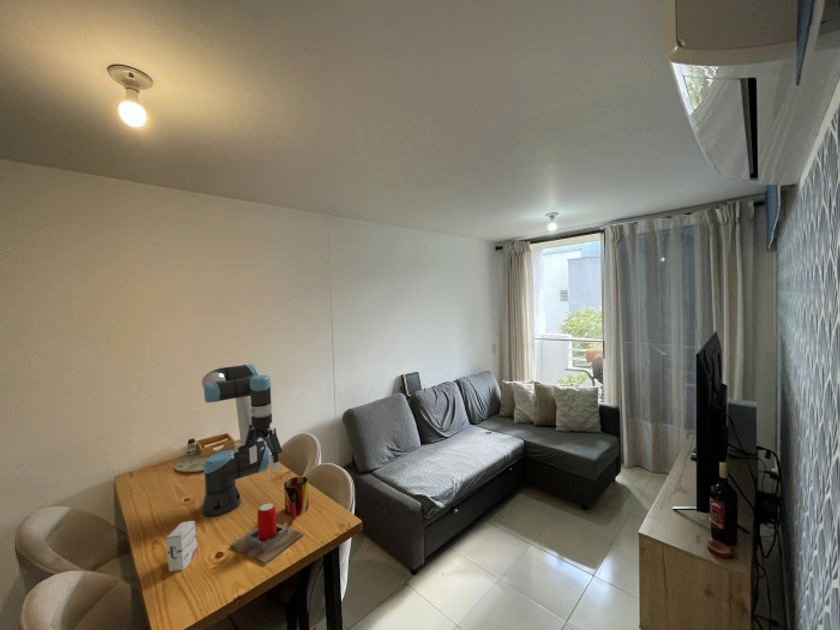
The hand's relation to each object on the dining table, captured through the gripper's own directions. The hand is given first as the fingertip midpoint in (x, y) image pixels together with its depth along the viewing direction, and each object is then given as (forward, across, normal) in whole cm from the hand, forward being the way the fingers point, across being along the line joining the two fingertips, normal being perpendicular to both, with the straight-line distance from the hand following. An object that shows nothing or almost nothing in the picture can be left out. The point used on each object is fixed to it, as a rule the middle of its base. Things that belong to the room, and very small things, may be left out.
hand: (263, 466), depth 136 cm
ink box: (+24, -7, -27) cm, 37 cm away
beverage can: (+22, +10, -7) cm, 26 cm away
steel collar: (+23, +10, -7) cm, 26 cm away
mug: (+24, +6, +11) cm, 27 cm away
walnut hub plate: (+23, +10, -7) cm, 26 cm away
